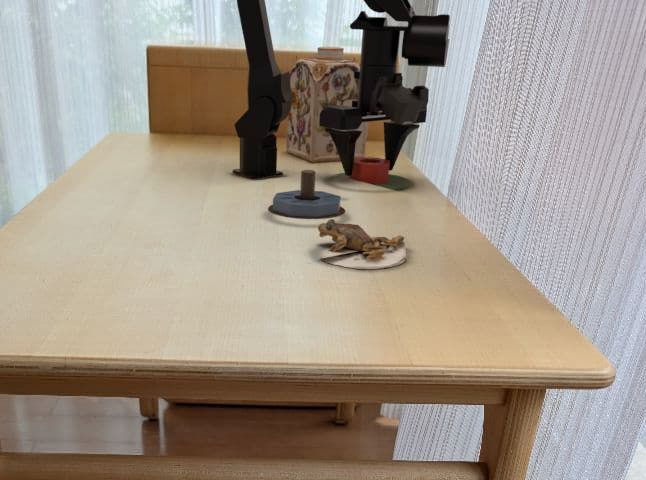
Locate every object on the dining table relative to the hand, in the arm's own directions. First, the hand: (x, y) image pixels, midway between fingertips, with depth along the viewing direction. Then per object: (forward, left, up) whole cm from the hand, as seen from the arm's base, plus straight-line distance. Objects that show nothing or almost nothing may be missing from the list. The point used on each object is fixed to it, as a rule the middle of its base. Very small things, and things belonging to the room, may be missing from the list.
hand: (369, 172), depth 136 cm
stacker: (+13, -24, -2) cm, 27 cm away
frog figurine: (+32, -31, -2) cm, 45 cm away
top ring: (0, 0, -1) cm, 1 cm away
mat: (0, 0, -2) cm, 2 cm away
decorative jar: (-23, +10, -2) cm, 25 cm away
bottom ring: (+13, -24, -1) cm, 27 cm away
